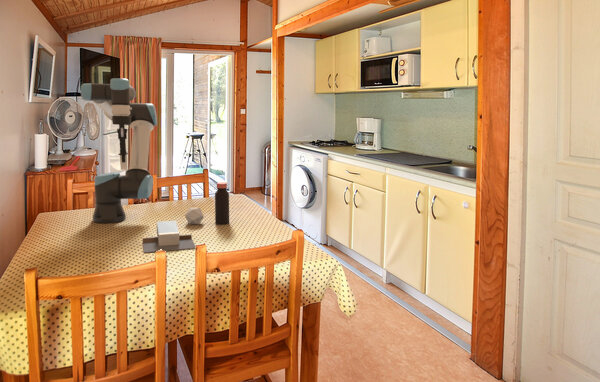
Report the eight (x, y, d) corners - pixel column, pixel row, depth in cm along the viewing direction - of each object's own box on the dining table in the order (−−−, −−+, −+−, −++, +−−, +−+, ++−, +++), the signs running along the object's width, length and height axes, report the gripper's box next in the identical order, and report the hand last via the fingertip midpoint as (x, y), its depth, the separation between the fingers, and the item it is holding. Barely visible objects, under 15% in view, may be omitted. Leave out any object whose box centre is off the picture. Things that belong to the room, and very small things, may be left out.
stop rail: (142, 242, 195) (142, 237, 195) (191, 238, 202) (191, 234, 202) (142, 243, 194) (142, 238, 194) (191, 239, 201) (191, 234, 201)
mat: (142, 243, 194) (142, 242, 194) (191, 239, 201) (191, 238, 201) (144, 253, 181) (143, 252, 181) (196, 248, 188) (196, 247, 188)
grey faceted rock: (194, 228, 222) (205, 211, 224) (179, 218, 223) (191, 201, 224) (197, 229, 230) (208, 213, 232) (183, 220, 231) (194, 204, 232)
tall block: (156, 221, 198) (158, 234, 188) (176, 220, 201) (179, 233, 190) (156, 232, 200) (158, 245, 190) (176, 231, 203) (179, 244, 192)
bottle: (222, 225, 225) (222, 184, 221) (212, 223, 228) (211, 183, 225) (232, 222, 231) (231, 182, 227) (221, 220, 234) (221, 181, 231)
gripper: (130, 115, 197) (133, 171, 201) (130, 115, 209) (132, 167, 213) (111, 115, 194) (114, 171, 198) (112, 114, 206) (115, 167, 210)
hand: (123, 169), depth 206 cm, fingers closed
